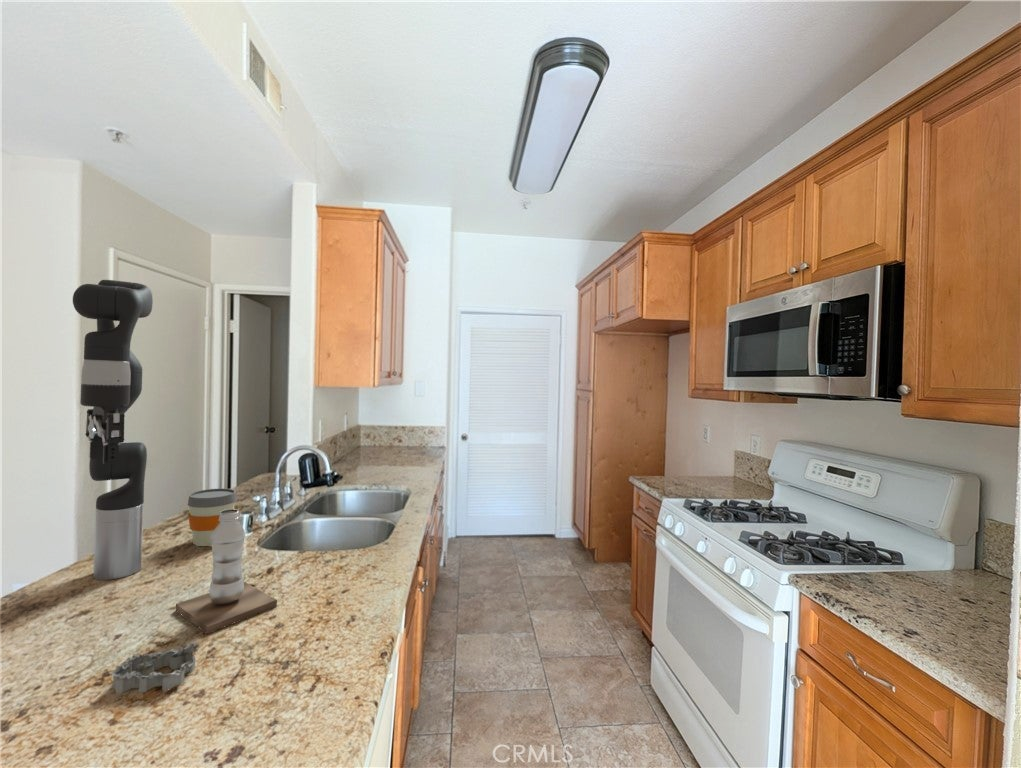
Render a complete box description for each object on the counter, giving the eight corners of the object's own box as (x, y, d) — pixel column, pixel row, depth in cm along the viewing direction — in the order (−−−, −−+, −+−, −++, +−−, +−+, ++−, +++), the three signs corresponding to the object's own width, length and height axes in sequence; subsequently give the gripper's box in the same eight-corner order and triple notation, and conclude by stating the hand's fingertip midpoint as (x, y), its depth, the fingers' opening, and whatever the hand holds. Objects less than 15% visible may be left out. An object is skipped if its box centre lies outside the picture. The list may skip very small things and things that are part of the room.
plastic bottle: (226, 610, 95) (230, 517, 95) (200, 606, 96) (203, 514, 96) (250, 596, 101) (253, 509, 101) (225, 592, 102) (228, 506, 102)
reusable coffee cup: (201, 534, 143) (203, 487, 143) (242, 534, 144) (244, 488, 144) (176, 549, 130) (178, 498, 130) (221, 549, 131) (223, 498, 131)
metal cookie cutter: (201, 665, 80) (202, 642, 80) (174, 694, 72) (175, 669, 72) (137, 666, 79) (138, 643, 79) (103, 696, 71) (104, 670, 71)
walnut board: (175, 610, 97) (175, 603, 97) (243, 587, 108) (243, 581, 108) (207, 634, 88) (207, 626, 88) (276, 606, 100) (276, 599, 100)
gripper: (141, 384, 91) (138, 463, 91) (117, 382, 99) (115, 455, 99) (92, 383, 84) (89, 468, 84) (71, 381, 92) (68, 459, 92)
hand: (103, 461), depth 92 cm, fingers open, 8 cm apart
